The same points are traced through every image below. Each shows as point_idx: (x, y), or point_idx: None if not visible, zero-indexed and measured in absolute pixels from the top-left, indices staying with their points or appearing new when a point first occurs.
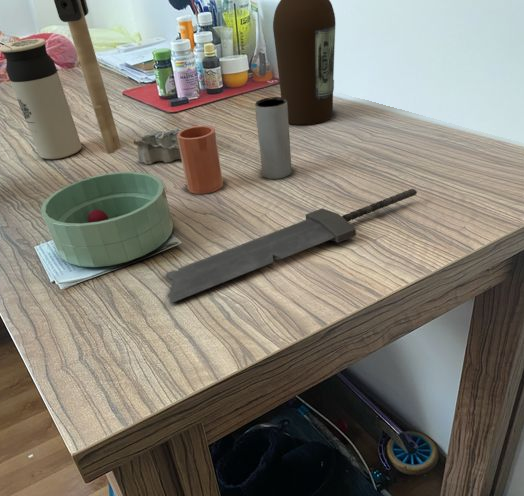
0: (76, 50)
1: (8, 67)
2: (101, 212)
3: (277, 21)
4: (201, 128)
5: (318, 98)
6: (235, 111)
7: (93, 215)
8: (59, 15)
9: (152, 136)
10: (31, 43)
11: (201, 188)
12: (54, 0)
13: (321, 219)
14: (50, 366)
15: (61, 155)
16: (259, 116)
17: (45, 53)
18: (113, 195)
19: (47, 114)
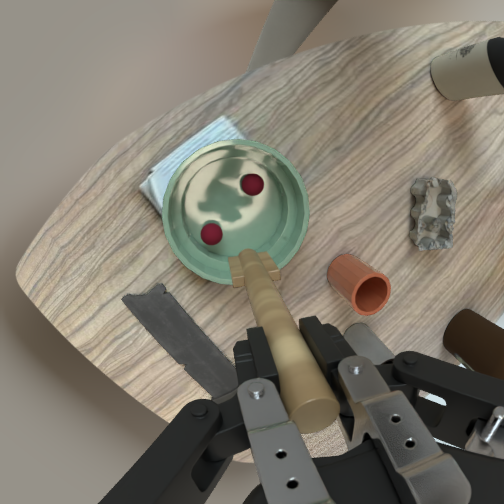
0: (259, 303)
1: (499, 41)
2: (253, 192)
3: None
4: (385, 295)
5: (454, 353)
6: (494, 256)
7: (247, 184)
8: (248, 332)
9: (450, 191)
10: None
11: (329, 276)
12: (252, 348)
13: (232, 393)
14: (53, 228)
15: (435, 82)
16: (375, 359)
17: None
18: (291, 195)
19: (465, 75)
